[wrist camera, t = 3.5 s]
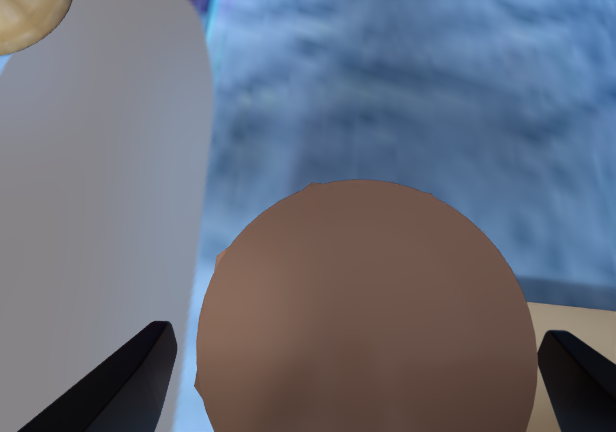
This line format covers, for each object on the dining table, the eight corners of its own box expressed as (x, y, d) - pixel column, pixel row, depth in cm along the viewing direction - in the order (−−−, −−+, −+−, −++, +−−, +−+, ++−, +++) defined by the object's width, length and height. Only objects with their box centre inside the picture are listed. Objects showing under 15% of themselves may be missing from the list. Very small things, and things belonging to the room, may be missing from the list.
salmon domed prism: (419, 425, 16) (552, 575, 7) (256, 403, 17) (159, 511, 7) (425, 260, 18) (535, 189, 8) (277, 245, 19) (222, 163, 9)
